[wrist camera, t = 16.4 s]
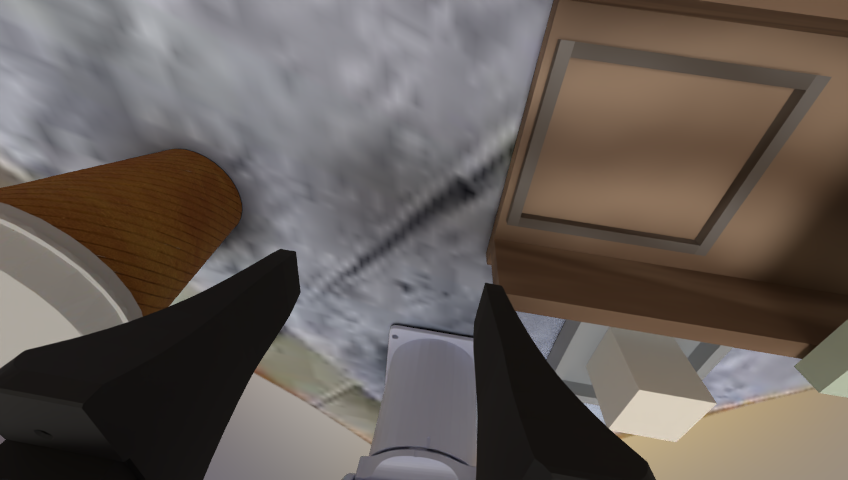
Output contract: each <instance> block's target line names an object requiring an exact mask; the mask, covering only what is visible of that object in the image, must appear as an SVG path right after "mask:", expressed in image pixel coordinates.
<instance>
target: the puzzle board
mask: <svg viewBox="0 0 848 480" xmlns="http://www.w3.org/2000/svg"><path fill="white" fill-rule="evenodd" d="M486 259H487V264H488V265H492V276H493V284H495V285H501V286H502V287H503V288H504V290H505V292H506V294H507V296H508V298H509V300H510V302H511V304H512V306H513V308H514V310H515V311H520V312H525V313H531V314H537V315H543V316H549V317H555V318H561V319H567V320H573V321H579V322H585V323H591V324H597V325H603V326H609V327H615V328H621V329H627V330H633V331H639V332H645V333H651V334H657V335H663V336H669V337H675V338H681V339H687V340H693V341H699V342H705V343H711V344H717V345H723V346H728V347H734V348H740V349H746V350H752V351H758V352H764V353H770V354H776V355H782V356H788V357H794V358H800V359H803V358H804V357H805V356H806V355H808V354H809V353H810V352H811V351H812V350H813V349H814V348H816V347H817V346H818V345H819V344H820V343H821V342H822V341H824V340H825V339H826V338H827V337H828V336H829V335H830V334H832V333H833V332H834V331H835V330H836V329H837V328H838V327H840V326H841V325H842V324H843V323H844V322H845V321H846V320H847V319H848V0H554V1H553V5H552V9H551V12H550V16H549V20H548V24H547V27H546V31H545V35H544V39H543V42H542V46H541V50H540V54H539V57H538V61H537V65H536V69H535V72H534V76H533V80H532V84H531V87H530V91H529V95H528V99H527V102H526V106H525V110H524V114H523V117H522V121H521V125H520V129H519V132H518V136H517V140H516V144H515V147H514V151H513V155H512V159H511V162H510V166H509V170H508V174H507V177H506V181H505V185H504V189H503V192H502V196H501V200H500V204H499V207H498V211H497V215H496V219H495V222H494V226H493V230H492V234H491V237H490V241H489V245H488V249H487V252H486Z"/></svg>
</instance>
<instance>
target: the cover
mask: <svg viewBox="0 0 848 480" xmlns="http://www.w3.org/2000/svg"><path fill="white" fill-rule="evenodd" d="M794 367H795V368H796V369H797V370H798V371H799V372H800V373H801V374H802V375H803V376H804V377H805V378H806V379H807V381H808V382H809V383H810V384H811V385H812V386H813V387H814V388H815V389H816V390H817V391H818V392H819V393H823V394H830V395H835V396H841V397H847V398H848V319H847V320H846V321H845V322H844V323H843V324H842V325H841V326H840V327H838V328H837V329H836V330H835V331H834V332H833V333H832V334H830V335H829V336H828V337H827V338H826V339H825V340H824V341H822V342H821V343H820V344H819V345H818V346H817V347H816V348H814V349H813V350H812V351H811V352H810V353H809V354H808V355H806V356H805V357H804V358H803V359H802V360H801V361H800V362H799V363H797V364H796V365H795V366H794Z"/></svg>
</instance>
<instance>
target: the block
mask: <svg viewBox="0 0 848 480" xmlns="http://www.w3.org/2000/svg"><path fill="white" fill-rule="evenodd" d="M586 368H587V371H588V374H589V377H590V380H591V382H592V385H593V388H594V391H595V394H596V397H597V400H598V403H599V406H600V409H601V412H602V415H603V418H604V421H605V423H606V426H607V427H608V428H609V429H610V430H611V431H617V432H623V433H628V434H634V435H639V436H645V437H650V438H656V439H662V440H667V441H673V442H677V441H678V440H679V439H680V438H681V437H682V436H683V435H684V434H685V433H686V432H687V431H688V430H690V428H692V427H693V426H694V425H695V424H696V423H697V422H698V421H699V420H700V419H701V418H702V417H703V416H704V415H705V414H706V413H707V412H708V411H709V410H710V409H711V408H712V407H714V406H715V405H716V404H717V403H716V402H715V400H714V398H713V397H712V395H711V394H710V392H709V391H708V389H707V388H706V386H705V385H704V383H703V382H702V380H701V379H700V377H699V376H698V374H697V373H696V371H695V370H694V368H693V366H692V365H691V363H690V362H689V360H688V359H687V357H686V356H685V354H684V353H683V351H682V350H681V348H680V347H679V345H678V344H677V342H676V341H675V339H674V337H669V336H663V335H657V334H651V333H645V332H639V331H633V330H627V329H621V328H615V327H609V329H608V330H607V332H606V334H605V335H604V337H603V338H602V340H601V342H600V343H599V345H598V347H597V348H596V350H595V352H594V353H593V355H592V357H591V358H590V360H589V362H588V363H587V365H586Z"/></svg>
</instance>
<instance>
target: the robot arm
mask: <svg viewBox="0 0 848 480" xmlns="http://www.w3.org/2000/svg"><path fill="white" fill-rule="evenodd" d="M299 295H300V284H299V275H298V266H297V257H296V252H295V251H289V250H283V249H279V250H277V251H276V252H274V253H272V254H270V255H268V256H267V257H265V258H263V259H261V260H260V261H258V262H256V263H255V264H253V265H251V266H249V267H248V268H246V269H244V270H242V271H241V272H239V273H237V274H235V275H234V276H232V277H230V278H228V279H226V280H224V281H222V282H220V283H219V284H217V285H215V286H213V287H211V288H209V289H207V290H205V291H203V292H201V293H199V294H197V295H195V296H193V297H190V298H188V299H186V300H184V301H181V302H179V303H177V304H174V305H172V306H170V307H167V308H165V309H162V310H159V311H157V312H154V313H151V314H149V315H146V316H143V317H140V318H138V319H135V320H132V321H129V322H126V323H123V324H120V325H117V326H114V327H111V328H108V329H104V330H101V331H98V332H94V333H91V334H87V335H84V336H80V337H77V338H73V339H69V340H65V341H61V342H57V343H53V344H49V345H45V346H41V347H37V348H32V349H28V350H25V351H23V352H22V353H20V354H19V355H18V356H16V357H15V358H14V359H12V360H11V361H10V362H8V363H7V364H5V365H4V366H3V367H1V368H0V435H1V436H2V437H3V438H5V439H6V440H5V441H4V442H3V443H2V444H0V480H203V479H204V476H205V474H206V471H207V469H208V467H209V464H210V462H211V459H212V457H213V455H214V453H215V450H216V448H217V446H218V444H219V442H220V439H221V437H222V435H223V433H224V430H225V428H226V426H227V424H228V422H229V420H230V418H231V416H232V414H233V412H234V410H235V407H236V405H237V403H238V401H239V399H240V397H241V395H242V393H243V391H244V389H245V387H246V385H247V383H248V381H249V380H250V378H251V376H252V374H253V373H254V371H255V369H256V367H257V366H258V364H259V363H260V361H261V359H262V358H263V356H264V355H265V353H266V352H267V350H268V349H269V347H270V346H271V344H272V342H273V341H274V339H275V338H276V336H277V335H278V333H279V332H280V330H281V329H282V327H283V325H284V324H285V322H286V321H287V319H288V317H289V316H290V314H291V312H292V310H293V308H294V306H295V303H296V301H297V299H298V297H299ZM476 393H477V411H478V426H477V434H476ZM342 480H656V479H655V477H654V475H653V473H652V471H651V469H650V467H649V465H648V463H647V461H645V460H644V459H643V458H642V457H641V456H640V455H639V454H637V453H636V452H635V451H634V450H633V449H631V448H630V447H629V446H628V445H627V444H626V443H625V442H623V441H622V440H621V439H620V438H619V437H618V436H616V435H615V434H614V433H613V432H612V431H611V430H610V429H609V428H608V427H607V426H606V425H605V424H603V423H602V422H601V421H600V420H599V419H598V418H597V417H596V416H595V415H594V414H593V413H592V412H591V411H590V410H589V409H588V408H587V407H586V406H585V405H584V404H583V403H582V402H581V400H580V399H579V398H578V397H577V396H576V395H575V394H574V393H573V392H572V391H571V390H570V389H569V387H568V386H567V385H566V384H565V383H564V382H563V381H562V379H561V378H560V377H559V376H558V375H557V373H556V372H555V371H554V370H553V368H552V367H551V366H550V364H549V363H548V362H547V360H546V359H545V358H544V356H543V355H542V353H541V352H540V351H539V349H538V348H537V346H536V345H535V343H534V342H533V340H532V339H531V337H530V335H529V334H528V332H527V330H526V329H525V327H524V325H523V324H522V322H521V320H520V319H519V317H518V315H517V313H516V311H515V310H514V308H513V306H512V304H511V302H510V300H509V298H508V296H507V294H506V292H505V290H504V288H503V287H502V286H501V285H495V284H489V283H485V286H484V289H483V293H482V296H481V300H480V303H479V307H478V310H477V314H476V318H475V321H474V338H469V337H463V336H458V335H452V334H446V333H440V332H434V331H428V330H423V329H417V328H411V327H405V326H399V325H393V326H391V328H390V332H389V343H388V355H387V366H386V378H385V389H384V394H383V398H382V403H381V407H380V411H379V415H378V420H377V424H376V428H375V432H374V437H373V441H372V445H371V449H370V453H369V456H361V457H360V460H359V464H358V468H357V473H356V474H355V473H349V474H347V475H345V476H344V477H343V478H342Z"/></svg>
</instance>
